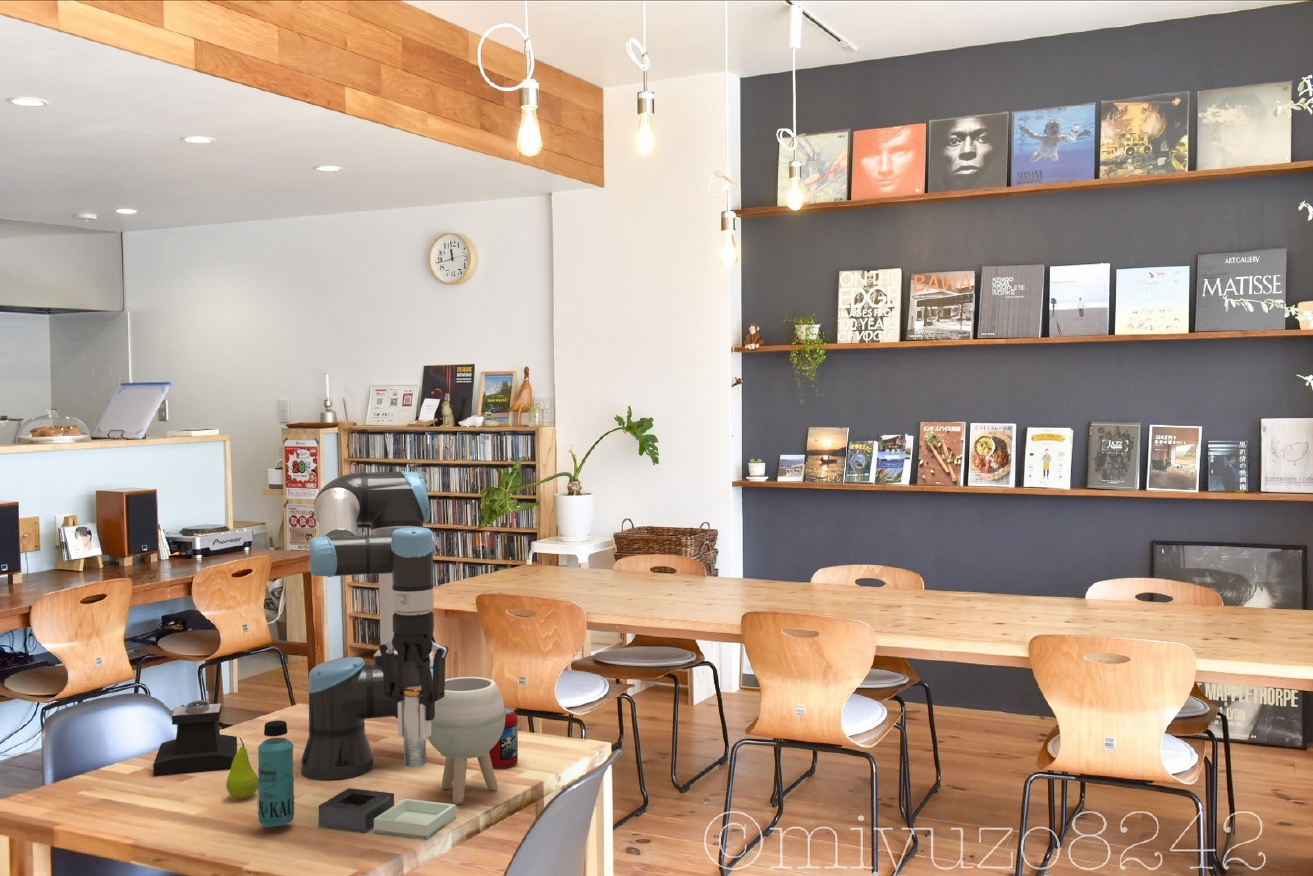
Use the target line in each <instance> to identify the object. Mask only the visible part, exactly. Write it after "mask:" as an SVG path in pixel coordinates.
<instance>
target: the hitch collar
mask: <svg viewBox="0 0 1313 876" xmlns="http://www.w3.org/2000/svg"><path fill="white" fill-rule="evenodd" d="M394 805H395V793H394V792H386V791H376V790H369V789H359V788H351V787H348V788H347V789H345V790H343V791H342V792H339V793H337V794H336V795H335V796H333V797H331V798H329V799H328V800H326V801H324V802H322V803H321V804H319V805H318V827H319V828H324V829H325V828H326V829H332V830H341V831H347V832H357V833H364V834H366V833H368V832H369V831H371V830H372V829H374V818H376V817H377V816H379V815H381V814H382V813H384V812H385V811H387V810H388V809H390V808H391V807H393V806H394Z"/></svg>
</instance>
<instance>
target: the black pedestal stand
mask: <svg viewBox="0 0 1313 876" xmlns="http://www.w3.org/2000/svg"><path fill="white" fill-rule="evenodd" d="M221 713H222V703H211V704H210V702H209V700H205V699H203V700H202V699H198V700H192V701H189V702H188V703H186V705H184V704H182V705H181V706H175V708H174V710H173V711H172V715H171V725H172V726H173V725H177V728H176V736H175V739H172V740H168V741H167V740H166V741H164V742H162V743H160V746H159V748H158V751H157V753H156V757H155V759H154V762H153V765H152V766H153V777H154V778H155V777H164V776H165V777H167V776H175V775H177V776H178V775H186V774H187V775H188V774H196V773H198V774H199V773H208V772H220V771H228V770H229V771H230V769H231V765H232V762H233V759H234V757H235V755H236V754H237V752H238V737H237V736H234V735H230V734H229V735H228V734H221V732H220V727H219V721H220V718H221Z"/></svg>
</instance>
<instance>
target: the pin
mask: <svg viewBox="0 0 1313 876" xmlns="http://www.w3.org/2000/svg"><path fill="white" fill-rule="evenodd" d="M423 701H424V700H423V695H422V689H421V687H408V688H405V689H403V718H404V736H403V765H404V766H405V767H408V768H418V767H419V768H420V767H423V766H425V765H426V764H427V744H426V742H427V740H426V739H427V738H426V739H420V704H421V703H422V702H423Z"/></svg>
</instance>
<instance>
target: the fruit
mask: <svg viewBox="0 0 1313 876" xmlns="http://www.w3.org/2000/svg"><path fill="white" fill-rule="evenodd" d="M239 740H240V742H241V745H242V746H241V747H240V748H239V749H238V750H237V753H236V755H235V757H234V759H233V762H232V765H231V769H230V770H229V774H228V776H227V779H226V790H227V792H228V794H229V796H230V797H231V798H233V799H235V800H239V801H240V800H244V799H248V798H250V797H251V796H253V795H254V794H255V793H256V792H258V777H257V776H258V774H257V773H256V772H255V771H254V769H253V768H252V766H251V765H252V764H251V763H250V760H249V755H248V751H247V748H246V747H245V744H244V741H243V739H242V738H241V737H239Z"/></svg>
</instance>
